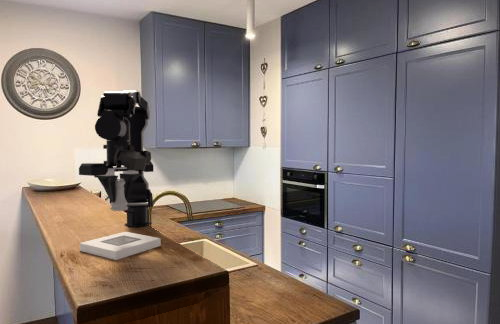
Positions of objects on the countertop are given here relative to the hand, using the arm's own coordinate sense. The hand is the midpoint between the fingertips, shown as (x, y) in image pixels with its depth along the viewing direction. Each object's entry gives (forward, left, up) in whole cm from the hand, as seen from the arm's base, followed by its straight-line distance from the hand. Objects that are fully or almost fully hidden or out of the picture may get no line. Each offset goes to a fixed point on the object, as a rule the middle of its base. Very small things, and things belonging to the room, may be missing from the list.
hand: (119, 201), depth 91 cm
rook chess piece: (0, 0, -2) cm, 2 cm away
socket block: (0, 0, -12) cm, 12 cm away
